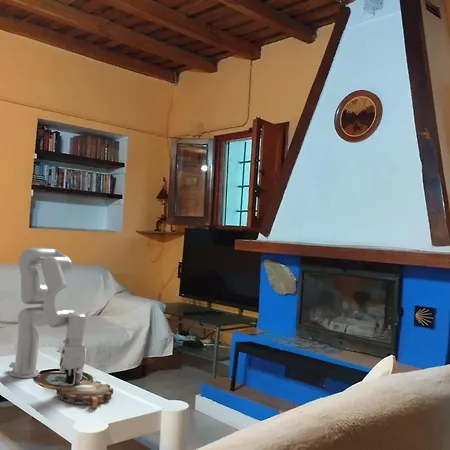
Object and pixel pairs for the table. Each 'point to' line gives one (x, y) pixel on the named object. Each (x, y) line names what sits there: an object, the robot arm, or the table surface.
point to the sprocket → (84, 390)
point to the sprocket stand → (92, 403)
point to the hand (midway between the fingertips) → (69, 383)
